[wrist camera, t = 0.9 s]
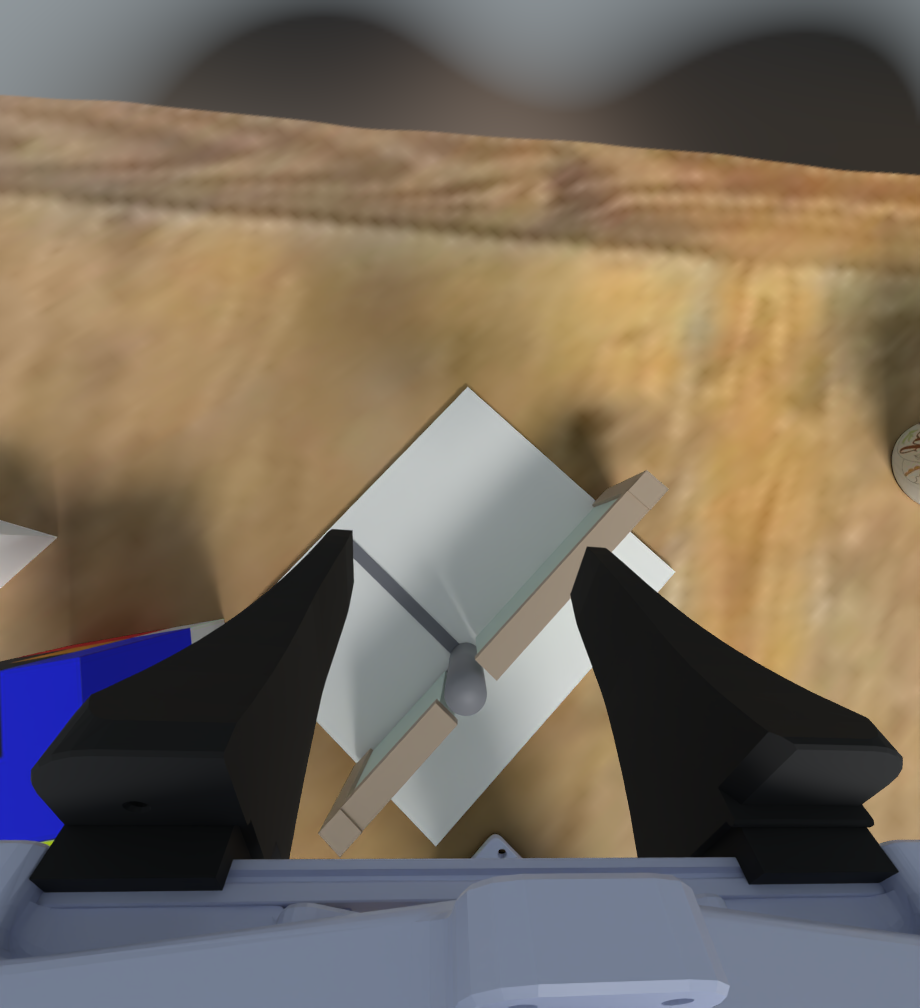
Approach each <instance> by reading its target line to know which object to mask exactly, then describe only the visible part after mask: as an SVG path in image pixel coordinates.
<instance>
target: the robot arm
mask: <svg viewBox="0 0 920 1008" xmlns="http://www.w3.org/2000/svg"><path fill="white" fill-rule="evenodd" d="M353 585H354V563H353V530H341V529H331V530H330V531H328V532H327V533H326V535H325V536H324V537H323V538H322V539H321V540H320V541H319V542H318V543H317V544H316V545H315V547H314V548H313V549H312V550H311V551H310V552H309V553H308V554H307V555H306V556H305V557H304V558H303V559H302V560H301V561H300V562H299V563H298V564H297V565H296V566H295V567H294V568H293V569H292V570H291V571H290V572H289V573H288V574H287V575H285V576H284V577H283V578H282V579H281V580H280V581H279V582H278V583H276V584H275V585H274V586H273V587H272V588H271V589H270V590H268V591H267V592H266V593H265V594H264V595H263V596H261V597H260V598H259V599H258V600H256V601H255V602H254V603H253V604H251V605H250V606H249V607H247V608H246V609H245V610H243V611H242V612H241V613H239V614H238V615H236V616H235V617H234V618H232V619H231V620H229V621H228V622H226V623H225V624H223V625H222V626H220V627H219V628H217V629H215V630H214V631H212V632H211V633H209V634H208V635H206V636H204V637H203V638H201V639H200V640H198V641H196V642H195V643H193V644H191V645H189V646H188V647H186V648H184V649H182V650H181V651H179V652H177V653H175V654H173V655H172V656H170V657H168V658H166V659H164V660H162V661H160V662H159V663H157V664H155V665H153V666H151V667H149V668H147V669H145V670H143V671H141V672H139V673H136V674H134V675H132V676H130V677H128V678H126V679H124V680H122V681H120V682H117V683H115V684H113V685H111V686H109V687H107V688H105V689H103V690H100V691H98V692H96V693H94V694H91V695H90V696H89V698H88V699H87V700H86V701H85V702H84V703H83V704H82V706H81V707H80V708H79V709H78V710H77V711H76V712H75V714H74V715H73V716H72V717H71V719H70V720H69V721H68V723H67V724H66V725H65V726H64V728H63V729H62V730H61V732H60V733H59V734H58V736H57V737H56V738H55V739H54V741H53V742H52V743H51V745H50V746H49V747H48V748H47V750H46V751H45V752H44V754H43V755H42V756H41V757H40V759H39V760H38V761H37V763H36V764H35V765H34V766H33V768H32V769H31V778H30V780H31V784H32V786H33V788H34V789H35V791H36V793H37V794H38V796H39V797H40V798H41V799H42V800H43V801H44V802H45V803H46V805H47V806H48V807H49V808H50V809H51V810H52V811H53V812H54V814H55V815H56V816H57V817H58V818H59V819H60V820H61V821H62V822H63V824H64V826H63V827H62V829H61V830H60V832H59V834H58V835H57V837H56V838H55V840H54V841H53V843H52V844H51V846H49V845H47V844H44V843H41V842H37V841H29V840H0V1008H920V840H892V841H887V842H883V843H880V844H878V842H877V841H876V840H875V838H874V837H873V835H872V834H871V833H870V831H869V830H868V829H867V827H872V826H873V825H874V820H873V819H872V817H871V816H870V815H869V813H868V812H867V811H866V809H865V808H864V807H863V805H862V804H863V803H864V802H866V801H867V800H868V799H870V798H871V797H872V796H874V795H875V794H877V793H878V792H879V791H881V790H882V789H883V788H885V787H886V786H887V785H889V784H890V783H891V782H892V781H893V780H894V779H895V778H896V777H898V775H899V773H900V772H901V770H902V766H903V757H902V756H901V755H900V754H899V753H898V752H897V750H896V749H895V748H894V747H893V746H892V745H891V744H890V743H889V741H888V740H887V739H886V738H885V737H884V736H883V735H882V733H881V732H880V731H879V730H878V729H877V728H876V727H875V725H874V724H873V723H872V722H871V721H870V720H869V719H868V718H866V717H864V716H862V715H860V714H858V713H856V712H853V711H851V710H849V709H847V708H845V707H843V706H840V705H838V704H836V703H834V702H832V701H830V700H827V699H825V698H823V697H821V696H819V695H817V694H815V693H812V692H810V691H808V690H807V689H805V688H803V687H801V686H799V685H797V684H795V683H793V682H791V681H789V680H787V679H785V678H783V677H782V676H780V675H778V674H776V673H774V672H772V671H771V670H769V669H767V668H765V667H763V666H762V665H760V664H758V663H757V662H755V661H753V660H752V659H750V658H748V657H747V656H745V655H743V654H742V653H740V652H738V651H737V650H735V649H734V648H732V647H730V646H729V645H727V644H726V643H724V642H723V641H721V640H720V639H718V638H717V637H715V636H714V635H712V634H711V633H709V632H708V631H707V630H705V629H704V628H702V627H701V626H699V625H698V624H697V623H695V622H694V621H693V620H691V619H690V618H689V617H687V616H686V615H685V614H683V613H682V612H681V611H680V610H678V609H677V608H676V607H675V606H673V605H672V604H671V603H669V602H668V601H667V600H666V599H665V598H663V597H662V596H661V595H660V594H659V593H657V592H656V591H655V590H654V589H653V588H652V587H650V586H649V585H648V584H647V583H646V582H645V581H644V580H642V579H641V578H640V577H639V576H638V575H637V574H636V573H635V572H633V571H632V570H631V569H630V568H629V567H628V566H627V565H626V564H624V563H623V562H622V561H621V560H620V559H619V558H618V557H616V556H615V555H614V554H613V553H612V552H610V551H609V550H608V549H607V548H602V547H588V546H587V547H586V550H585V553H584V556H583V559H582V562H581V565H580V568H579V570H578V573H577V576H576V579H575V582H574V585H573V588H572V591H571V593H570V596H571V601H572V606H573V611H574V615H575V620H576V624H577V627H578V630H579V632H580V635H581V638H582V641H583V644H584V646H585V649H586V652H587V654H588V657H589V660H590V662H591V665H592V668H593V671H594V673H595V676H596V679H597V681H598V684H599V687H600V689H601V692H602V696H603V699H604V702H605V705H606V709H607V713H608V716H609V720H610V724H611V728H612V732H613V736H614V740H615V744H616V749H617V753H618V757H619V762H620V766H621V770H622V775H623V780H624V785H625V790H626V795H627V800H628V805H629V810H630V815H631V821H632V827H633V833H634V839H635V845H636V850H637V856H638V858H522V857H521V856H520V855H519V854H518V853H517V852H516V851H515V850H514V849H513V848H512V847H511V846H510V845H509V844H508V843H507V842H506V841H505V840H504V839H503V838H502V837H501V836H500V835H498V834H493V835H491V836H490V837H489V838H488V839H487V840H486V841H485V842H484V844H483V845H482V846H481V847H480V848H479V849H478V851H477V852H476V853H475V854H474V855H473V856H472V857H471V858H463V859H289V857H290V851H291V846H292V841H293V835H294V830H295V824H296V819H297V813H298V808H299V803H300V798H301V793H302V788H303V783H304V777H305V772H306V767H307V762H308V758H309V753H310V748H311V743H312V739H313V734H314V729H315V724H316V720H317V715H318V711H319V706H320V702H321V697H322V693H323V690H324V686H325V683H326V679H327V676H328V673H329V670H330V667H331V664H332V661H333V658H334V655H335V652H336V649H337V646H338V642H339V639H340V636H341V633H342V630H343V627H344V624H345V621H346V618H347V614H348V611H349V606H350V601H351V596H352V590H353ZM500 849H504V850H505V853H503V854H500V853H498V851H499V850H500Z"/></svg>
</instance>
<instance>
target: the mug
mask: <svg viewBox="0 0 920 1008" xmlns="http://www.w3.org/2000/svg"><path fill="white" fill-rule="evenodd" d="M892 468H893V472H894V475H895V478H896V480H897V482H898V484H899V486H900V487H901V488H902V490H903V491H904V492H905V493H906V494H907V495H908V496H909V497H910V498H911V499H912V500H914V501H915V502H917V503H918V504H920V423H919V424H916V425H914V426H913V427H911V428H909V429H908V430H906V431H905V432H904V433H903V434H902V435H901V436H900V438H899V439H898V441H897V442H896V444H895V447H894V450H893V454H892Z"/></svg>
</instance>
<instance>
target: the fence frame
mask: <svg viewBox="0 0 920 1008" xmlns="http://www.w3.org/2000/svg"><path fill="white" fill-rule="evenodd" d="M476 655H477V648H476V646H475V645H473V644H471V643H467V642H465V643H460V644H459V645H457V646H456V647H455V648H454V649H453V650H452V652H451V654H450V660H449V666H448V672H446V671H445V672H444V673H443V674H442V675H441V676H440V677H439V678H438V679H437V681H436V682H435V683H434V684H433V685H432V686H431V687H430V688H429V689H428V690H427V692H426V693H425V694H424V695H423V696H422V697H421V698H420V699H419V700H418V701H417V703H416V704H415V705H414V706H413V707H412V708H411V709H410V710H409V711H408V712H407V714H406V715H405V716H404V717H403V718H402V719H401V720H400V721H399V722H398V723H397V725H396V726H395V727H394V728H393V729H392V730H391V731H390V732H389V733H388V734H387V736H386V737H385V738H384V739H383V740H382V741H381V742H380V743H379V744H378V745H377V747H376V748H375V749H374V750H372V749H371V748H370V749H369V750H368V751H367V753H366V754H365V755H364V756H363V757H362V758H361V759H360V760H359V761H358V762H357V764H356V765H355V766H354V767H353V769H352V771H351V773H350V775H349V777H348V779H347V781H346V782H345V784H344V786H343V788H342V790H341V792H340V794H339V796H338V797H337V799H336V801H335V803H334V805H333V807H332V809H331V811H330V812H329V814H328V816H327V818H326V820H325V822H324V824H323V826H322V827H321V829H320V831H319V833H318V834H319V835H320V836H321V837H322V838H323V839H324V840H325V842H326V843H327V844H328V845H329V846H330V847H331V848H332V849H333V850H334V851H335V852H336V853H337V855H338V856H339V857H341V855H342V854H343V853H344V852H345V851H346V850H347V849H348V848H349V846H350V845H351V844H352V843H353V842H354V841H355V840H356V839H357V838H358V836H359V835H360V834H361V833H362V831H363V830H364V829H365V828H366V827H367V825H368V824H369V823H370V822H371V821H372V820H373V819H374V818H375V817H376V815H377V814H378V813H379V812H380V811H381V810H382V809H383V808H384V806H385V805H386V804H387V803H388V802H389V801H390V800H391V799H392V797H393V796H394V795H395V794H396V793H397V792H398V791H399V790H400V789H401V787H402V786H403V785H404V784H405V783H406V782H407V781H408V780H409V778H410V777H411V776H412V775H413V774H414V773H415V772H416V771H417V770H418V768H419V767H420V766H421V765H422V764H423V763H424V762H425V761H426V759H427V758H428V757H429V756H430V755H431V754H432V753H433V752H434V751H435V749H436V748H437V747H438V746H439V745H440V744H441V743H442V742H443V740H444V739H445V738H446V737H447V736H448V735H449V734H450V733H451V731H452V730H453V729H454V728H455V727H456V726H457V724H458V719H457V718H456V717H455V713H456V714H458V715H461V716H470V715H473V714H475V713H477V712H479V711H480V710H481V709H482V707H483V706H484V704H485V702H486V698H487V689H486V682H485V675H484V669H483V667H482V666H481V665H480V664H479V663H478V662H477V661H476V660H475V656H476Z"/></svg>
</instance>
